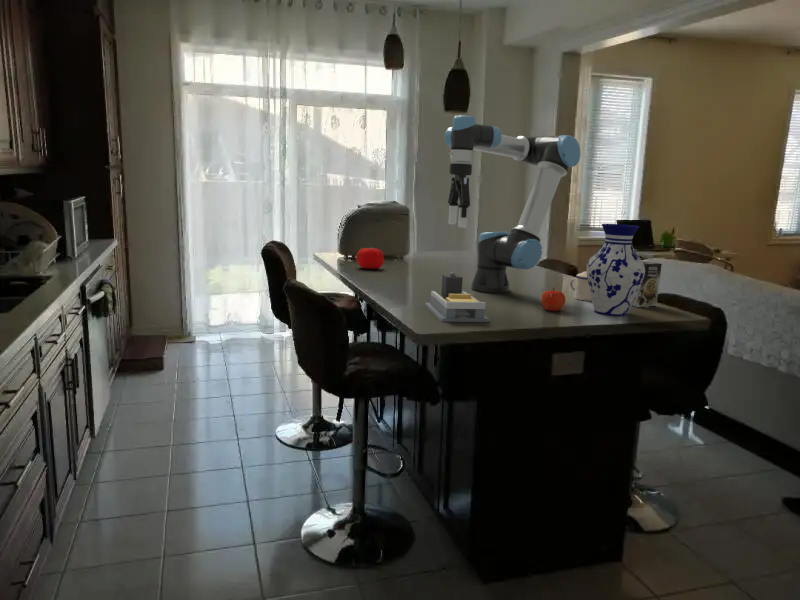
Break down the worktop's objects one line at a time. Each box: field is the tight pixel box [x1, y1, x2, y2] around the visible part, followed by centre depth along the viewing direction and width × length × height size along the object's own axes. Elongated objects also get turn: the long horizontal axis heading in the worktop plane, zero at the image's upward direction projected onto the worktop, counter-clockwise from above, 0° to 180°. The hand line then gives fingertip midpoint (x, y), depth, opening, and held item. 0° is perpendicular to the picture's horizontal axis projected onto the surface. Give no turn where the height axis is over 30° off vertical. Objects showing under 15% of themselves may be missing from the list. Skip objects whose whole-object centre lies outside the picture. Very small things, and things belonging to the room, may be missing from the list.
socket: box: [424, 290, 490, 323], centre depth 206 cm, size 15×24×6 cm, turn 10°
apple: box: [540, 287, 566, 312], centre depth 219 cm, size 8×8×8 cm
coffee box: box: [632, 261, 663, 308], centre depth 234 cm, size 9×6×16 cm
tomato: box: [356, 246, 385, 270], centre depth 298 cm, size 11×13×10 cm
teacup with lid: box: [569, 269, 592, 302], centre depth 244 cm, size 12×9×12 cm
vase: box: [586, 223, 645, 317], centre depth 217 cm, size 19×19×30 cm
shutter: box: [446, 293, 479, 302], centre depth 199 cm, size 9×7×3 cm
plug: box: [440, 271, 463, 300], centre depth 212 cm, size 5×5×11 cm
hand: (457, 225), depth 221 cm, fingers open, 13 cm apart
